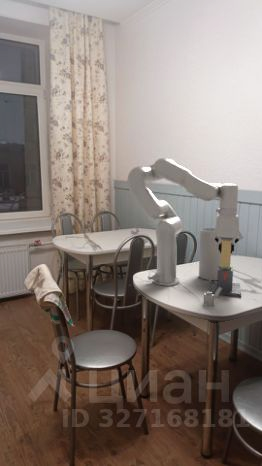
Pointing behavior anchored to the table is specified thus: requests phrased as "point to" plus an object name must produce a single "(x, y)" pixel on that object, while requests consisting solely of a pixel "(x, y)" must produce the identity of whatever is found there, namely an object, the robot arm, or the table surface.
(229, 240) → the column
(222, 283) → the stand base
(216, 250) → the cylinder vase
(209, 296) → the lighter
